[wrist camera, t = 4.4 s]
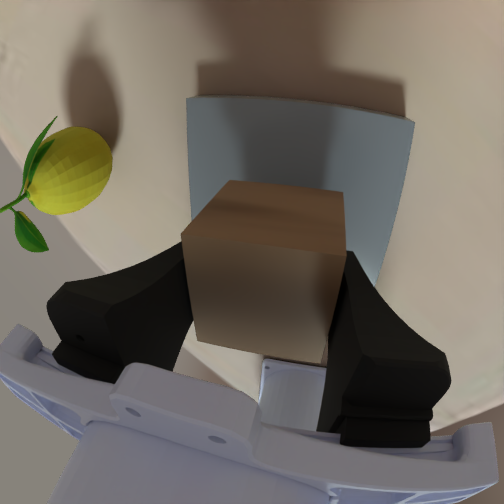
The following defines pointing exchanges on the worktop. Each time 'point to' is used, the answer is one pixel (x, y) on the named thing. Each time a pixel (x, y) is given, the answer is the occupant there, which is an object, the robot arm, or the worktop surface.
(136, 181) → the worktop surface
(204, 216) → the walnut block
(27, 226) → the lemon
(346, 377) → the robot arm
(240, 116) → the slate tile
